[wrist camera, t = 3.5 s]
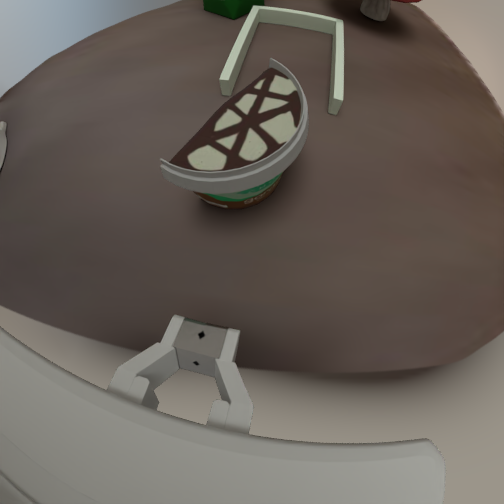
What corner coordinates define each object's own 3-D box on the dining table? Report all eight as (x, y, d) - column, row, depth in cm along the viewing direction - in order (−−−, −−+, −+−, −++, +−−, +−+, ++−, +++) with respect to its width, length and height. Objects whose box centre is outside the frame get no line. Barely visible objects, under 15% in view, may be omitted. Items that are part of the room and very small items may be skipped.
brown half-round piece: (241, 250, 24) (230, 224, 15) (190, 210, 25) (153, 165, 15) (318, 155, 26) (345, 93, 16) (270, 123, 26) (274, 54, 16)
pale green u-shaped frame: (222, 95, 27) (219, 79, 24) (253, 18, 29) (253, 5, 26) (336, 115, 26) (342, 100, 24) (339, 33, 29) (342, 20, 26)
